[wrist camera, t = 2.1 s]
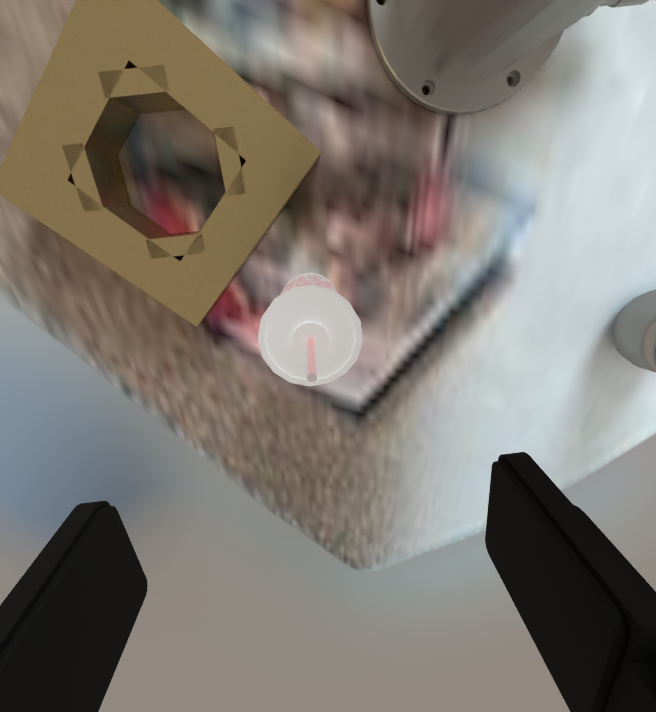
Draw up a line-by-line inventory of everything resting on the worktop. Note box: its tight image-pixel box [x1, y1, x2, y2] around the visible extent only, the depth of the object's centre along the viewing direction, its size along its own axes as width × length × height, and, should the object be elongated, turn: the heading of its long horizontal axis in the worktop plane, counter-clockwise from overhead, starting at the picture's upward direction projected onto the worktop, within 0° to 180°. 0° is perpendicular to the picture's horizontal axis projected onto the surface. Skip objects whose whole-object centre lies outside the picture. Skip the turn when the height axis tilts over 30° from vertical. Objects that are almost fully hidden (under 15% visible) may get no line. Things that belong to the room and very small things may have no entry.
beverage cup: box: [258, 273, 363, 386], centre depth 23 cm, size 6×6×14 cm
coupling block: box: [0, 0, 321, 327], centre depth 24 cm, size 14×14×4 cm
